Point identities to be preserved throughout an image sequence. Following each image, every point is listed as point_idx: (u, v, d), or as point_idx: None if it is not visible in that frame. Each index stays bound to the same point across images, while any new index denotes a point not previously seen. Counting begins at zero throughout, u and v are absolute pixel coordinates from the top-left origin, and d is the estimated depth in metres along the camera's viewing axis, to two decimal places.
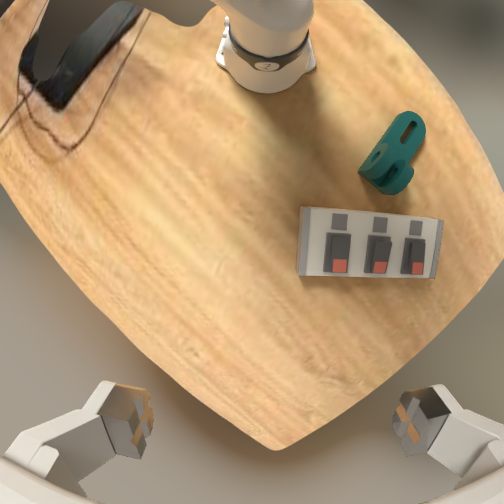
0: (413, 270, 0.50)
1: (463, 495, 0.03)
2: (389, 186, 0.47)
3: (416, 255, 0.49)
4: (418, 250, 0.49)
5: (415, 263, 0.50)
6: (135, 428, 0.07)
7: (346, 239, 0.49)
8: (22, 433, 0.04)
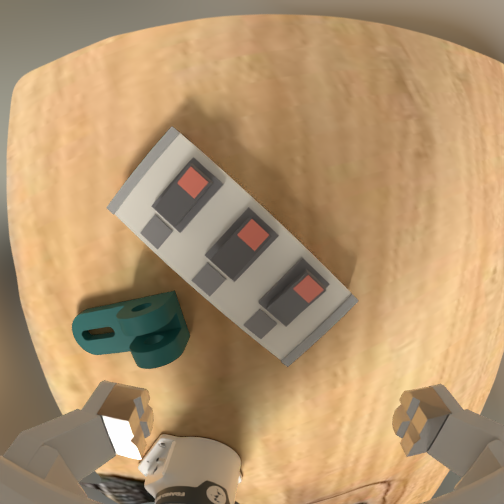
0: (202, 185, 0.29)
1: (463, 495, 0.03)
2: (164, 323, 0.33)
3: (181, 203, 0.29)
4: (172, 207, 0.30)
5: (190, 193, 0.29)
6: (135, 428, 0.07)
7: (271, 310, 0.32)
8: (22, 433, 0.04)
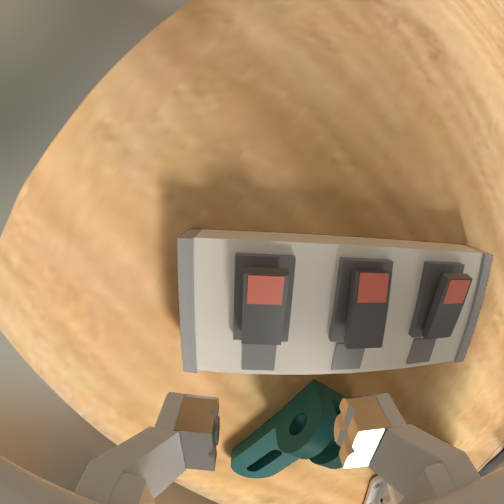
0: (279, 283, 0.20)
1: (463, 495, 0.03)
2: None
3: (270, 319, 0.21)
4: (262, 329, 0.21)
5: (272, 302, 0.20)
6: (213, 439, 0.07)
7: (431, 336, 0.22)
8: (92, 461, 0.04)
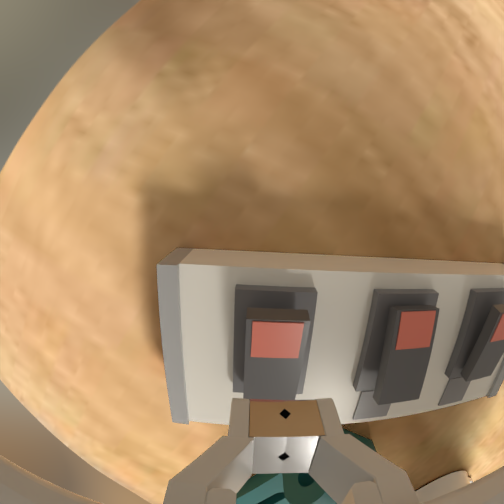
0: (297, 332, 0.14)
1: (463, 495, 0.03)
2: None
3: (281, 374, 0.15)
4: (271, 386, 0.15)
5: (286, 354, 0.14)
6: None
7: (472, 378, 0.16)
8: (172, 481, 0.04)
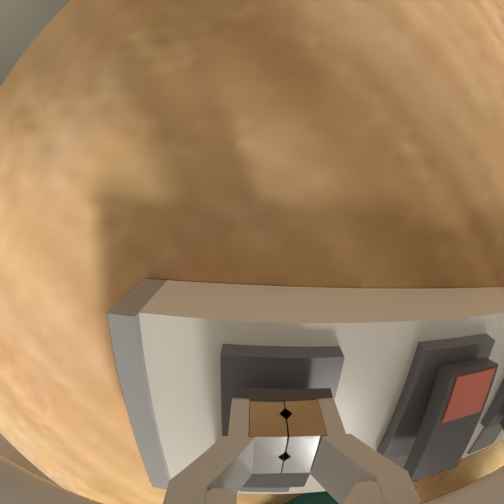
0: None
1: (463, 495, 0.03)
2: None
3: None
4: (274, 475, 0.09)
5: None
6: None
7: None
8: (172, 481, 0.04)
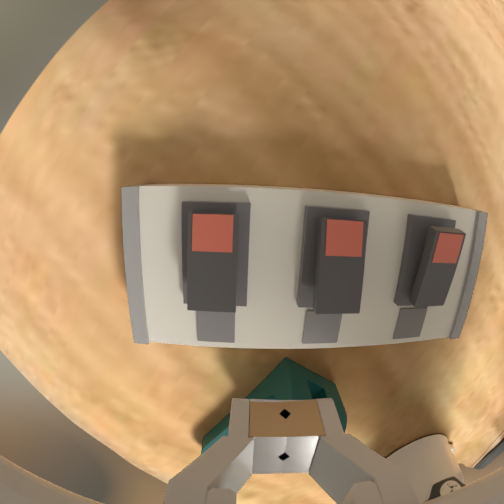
0: (228, 224, 0.18)
1: (463, 495, 0.03)
2: None
3: (219, 273, 0.18)
4: (211, 289, 0.18)
5: (221, 249, 0.18)
6: None
7: (421, 304, 0.19)
8: (172, 481, 0.04)
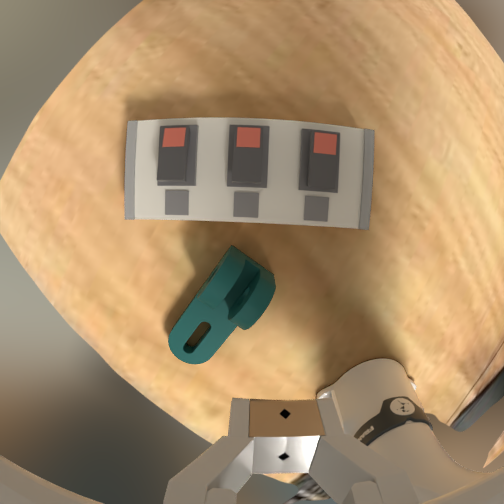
0: (183, 132, 0.30)
1: (463, 495, 0.03)
2: (240, 269, 0.33)
3: (176, 157, 0.30)
4: (171, 166, 0.30)
5: (178, 145, 0.30)
6: None
7: (313, 184, 0.31)
8: (172, 481, 0.04)
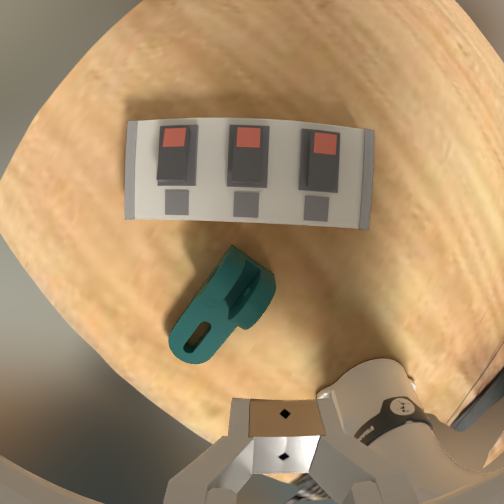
0: (183, 133, 0.30)
1: (463, 495, 0.03)
2: (240, 269, 0.33)
3: (176, 157, 0.30)
4: (171, 166, 0.30)
5: (178, 145, 0.30)
6: None
7: (313, 184, 0.31)
8: (172, 481, 0.04)
